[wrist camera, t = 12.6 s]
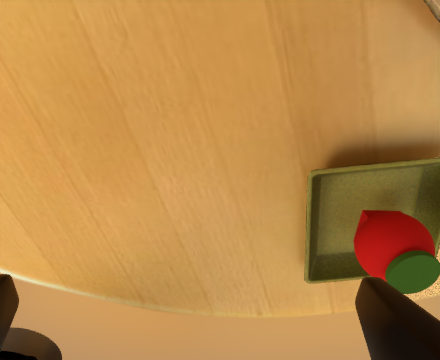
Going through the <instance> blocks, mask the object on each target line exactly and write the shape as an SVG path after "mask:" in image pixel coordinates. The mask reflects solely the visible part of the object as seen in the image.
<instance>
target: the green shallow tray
mask: <svg viewBox="0 0 440 360" xmlns="http://www.w3.org/2000/svg"><path fill="white" fill-rule="evenodd" d="M362 210H385V211H401V212H402V213H404V214H407V215H410V216H412V217H413V218H415V219H417V220H418V221H419V222H421V223H422V224H423V225H424V226H425V227H426V228H427V230H428V231H429V233H430V234H431V236H432V239H433V241H434V245H435V258H436V256H437V253H438V249H439V245H440V157H438V158H429V159H418V160H408V161H398V162H388V163H378V164H368V165H358V166H348V167H338V168H327V169H317V170H313V171H311V172H310V173H309V175H308V179H307V210H306V244H305V272H304V281H305V282H307V283H326V282H337V281H347V280H357V279H363V278H364V277H372V276H371V275H369V274H368V273H367V272H366V271H365V270H364V269H363V268H362V266H361V265H360V263H359V261H358V260H357V257H356V254H355V250H354V242H353V240H354V237H355V233H356V230H357V227H358V223H359V220H360V216H361V213H362Z"/></svg>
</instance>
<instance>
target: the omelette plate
mask: <svg viewBox="0 0 440 360" xmlns="http://www.w3.org/2000/svg"><path fill="white" fill-rule="evenodd" d="M424 2H425V3H426V4H427V6H428V7H429V9H430V10H431V12H432V13H433V15H434V16H435V18H436V19H437V20H438V21H439V22H440V0H424Z"/></svg>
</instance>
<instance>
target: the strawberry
mask: <svg viewBox="0 0 440 360" xmlns="http://www.w3.org/2000/svg"><path fill="white" fill-rule="evenodd" d="M353 242H354V250H355V254H356V257H357V260H358V261H359V263H360V265H361V266H362V268H363V269H364V270H365V271H366V272H367V273H368V274H369V275H371V276H372V277H379V278H382V279H383V280H384V281H386V282H387V283H389V284H390V285H391V286H393V287H394V288H395V289H397V290H398V291H400V292H401V293H402V294H412V293H417V292H420V291H422V290H424V289H426V288H428V287H429V286H431V285H432V284H433V283H434V282H435V281H436V280H437V278H438V277H439V275H440V263H439V261H438V260H437V259H436V258H435V245H434V241H433V239H432V236H431V234H430V233H429V231H428V230H427V228H426V227H425V226H424V225H423V224H422V223H421V222H419V221H418V220H417V219H415V218H413V217H412V216H410V215H407V214H404V213H402V212H401V211H385V210H362V213H361V216H360V220H359V223H358V227H357V230H356V233H355V237H354V240H353Z"/></svg>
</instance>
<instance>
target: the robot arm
mask: <svg viewBox="0 0 440 360" xmlns="http://www.w3.org/2000/svg"><path fill="white" fill-rule="evenodd" d="M18 304H19V298H18V294H17V291H16V288H15V285H14V283H13V279H12V277H11V276H10V275H8V274H0V351H1V348H2V346H3V343H4V341H5V338H6V336H7V333H8V331H9V328H10V326H11V323H12V321H13V318H14V315H15V313H16V311H17V308H18ZM355 305H356V310H357V313H358V316H359V320H360V323H361V326H362V330H363V333H364V337H365V340H366V343H367V346H368V350H369V353H370V357H371V360H440V321H439V320H438V319H437V318H435V317H434V316H432V315H431V314H430V313H428V312H427V311H426V310H424V309H423V308H421V307H420V306H419V305H417V304H416V303H415V302H413V301H412V300H411V299H409V298H408V297H406V296H405V295H404V294H402V293H401V292H400V291H398V290H397V289H395V288H394V287H393V286H391V285H390V284H389V283H387V282H386V281H384V280H383V279H382V278H379V277H364V278H363V279H362V281H361V284H360V287H359V290H358V293H357V296H356V300H355ZM0 360H38V359H37V358H36V357H34V356H0Z"/></svg>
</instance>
